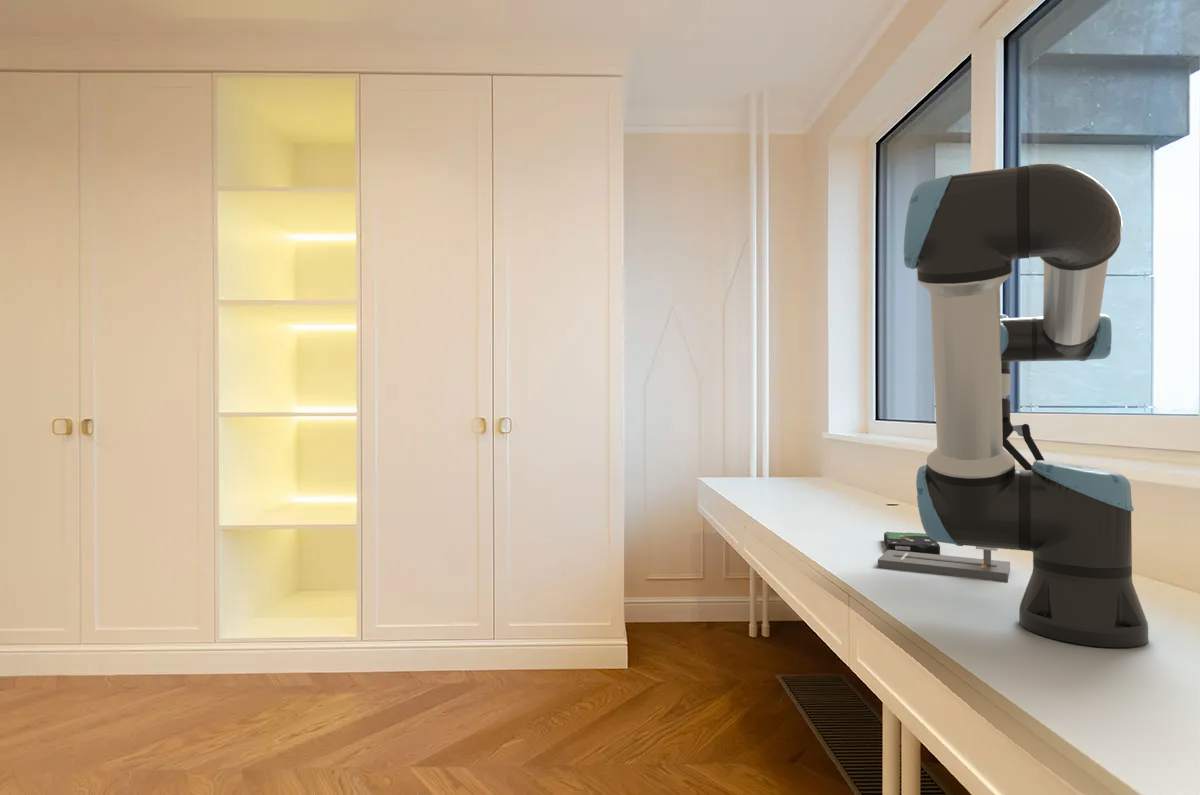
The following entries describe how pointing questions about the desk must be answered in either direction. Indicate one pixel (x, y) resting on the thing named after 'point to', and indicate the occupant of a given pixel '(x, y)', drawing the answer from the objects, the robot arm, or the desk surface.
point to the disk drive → (911, 542)
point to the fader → (987, 554)
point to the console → (945, 565)
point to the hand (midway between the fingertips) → (987, 511)
